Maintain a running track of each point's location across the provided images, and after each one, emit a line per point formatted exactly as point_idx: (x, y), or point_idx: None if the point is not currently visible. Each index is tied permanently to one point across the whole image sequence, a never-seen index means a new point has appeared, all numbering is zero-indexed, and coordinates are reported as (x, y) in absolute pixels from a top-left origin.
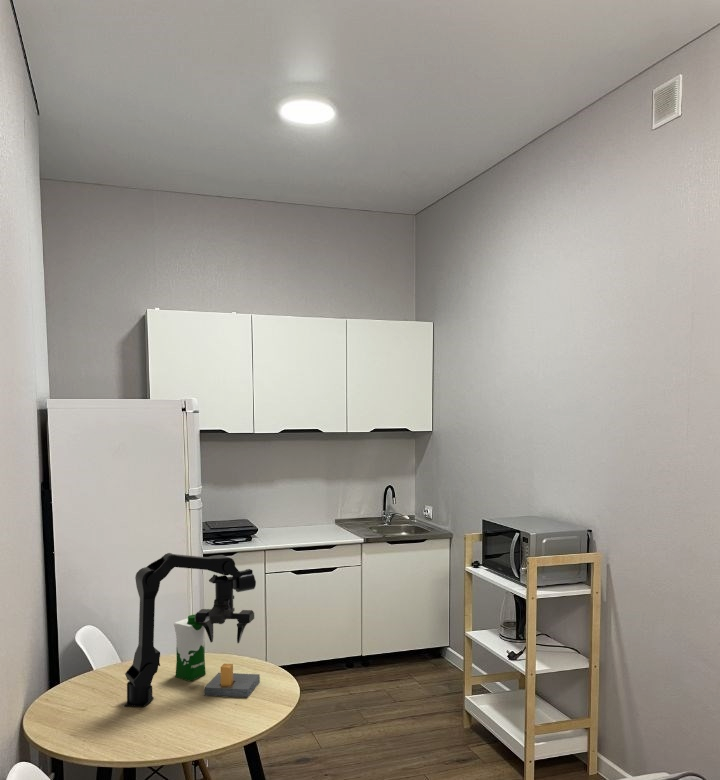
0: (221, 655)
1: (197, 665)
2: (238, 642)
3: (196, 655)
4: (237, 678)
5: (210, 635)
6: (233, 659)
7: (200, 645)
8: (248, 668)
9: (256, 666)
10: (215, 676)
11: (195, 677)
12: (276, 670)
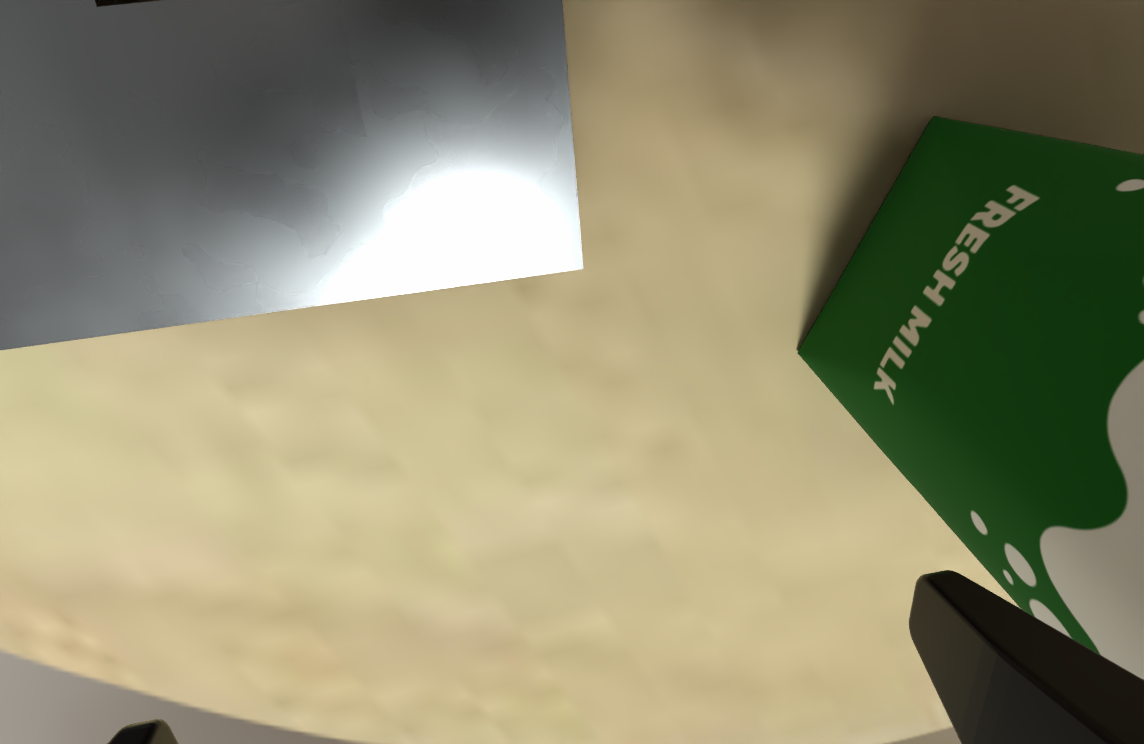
0: (798, 740)
1: (946, 272)
2: (111, 741)
3: (1071, 321)
4: (140, 122)
5: (1087, 716)
6: (654, 712)
7: (1129, 501)
8: (391, 602)
9: (335, 660)
10: (561, 122)
11: (885, 211)
12: (36, 645)
